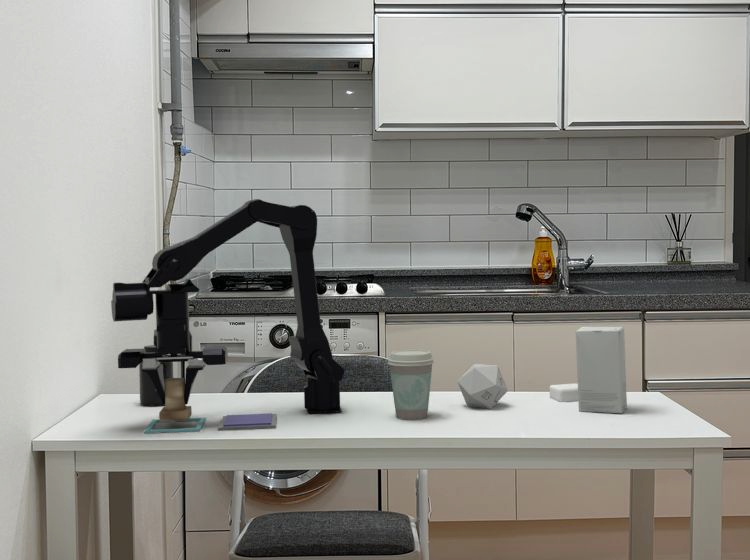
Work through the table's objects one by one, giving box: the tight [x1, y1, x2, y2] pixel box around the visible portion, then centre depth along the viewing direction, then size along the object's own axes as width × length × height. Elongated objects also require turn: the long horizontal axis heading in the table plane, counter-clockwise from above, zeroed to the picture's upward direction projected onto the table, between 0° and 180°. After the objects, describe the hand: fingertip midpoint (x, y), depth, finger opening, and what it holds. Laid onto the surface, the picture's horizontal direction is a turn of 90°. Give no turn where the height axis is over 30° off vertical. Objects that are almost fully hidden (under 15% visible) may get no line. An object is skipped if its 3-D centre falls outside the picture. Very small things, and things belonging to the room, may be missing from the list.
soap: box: [549, 382, 578, 403], centre depth 169 cm, size 9×6×3 cm, turn 103°
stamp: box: [158, 377, 193, 422], centre depth 151 cm, size 5×5×7 cm
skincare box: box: [575, 326, 628, 414], centre depth 157 cm, size 8×7×16 cm
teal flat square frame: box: [143, 417, 207, 434], centre depth 151 cm, size 10×10×1 cm
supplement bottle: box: [138, 344, 174, 406], centre depth 173 cm, size 7×7×12 cm
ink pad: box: [217, 412, 278, 431], centre depth 153 cm, size 10×10×1 cm
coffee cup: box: [387, 349, 435, 421], centre depth 155 cm, size 9×8×12 cm
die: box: [456, 363, 509, 410], centre depth 164 cm, size 8×9×10 cm
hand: (175, 404), depth 151 cm, fingers closed on stamp, 3 cm apart
